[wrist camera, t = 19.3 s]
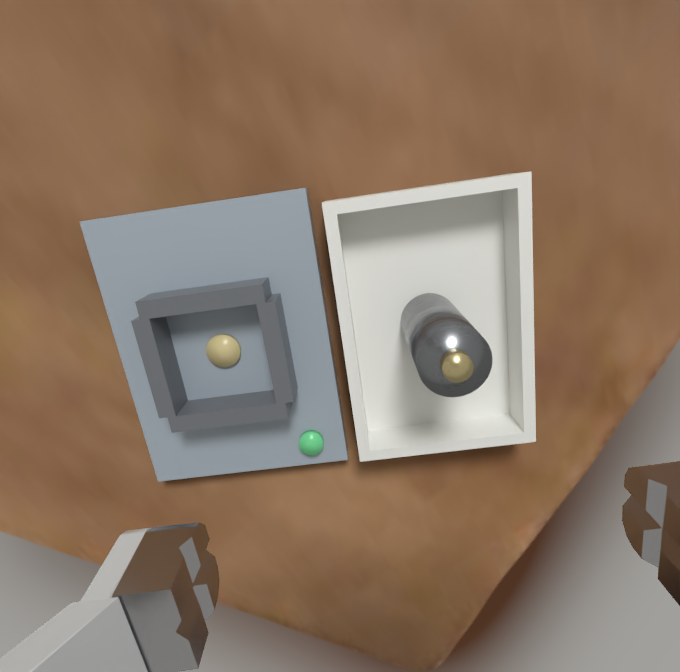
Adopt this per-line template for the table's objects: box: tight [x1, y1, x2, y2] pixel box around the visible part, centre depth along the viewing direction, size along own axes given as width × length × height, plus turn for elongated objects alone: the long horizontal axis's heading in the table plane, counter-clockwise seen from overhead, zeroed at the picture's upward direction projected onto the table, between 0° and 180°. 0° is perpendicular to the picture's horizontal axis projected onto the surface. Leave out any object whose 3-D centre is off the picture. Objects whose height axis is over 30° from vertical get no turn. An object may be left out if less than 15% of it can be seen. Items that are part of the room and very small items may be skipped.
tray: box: [322, 172, 536, 462], centre depth 32 cm, size 18×12×4 cm
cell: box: [401, 293, 493, 397], centre depth 28 cm, size 4×4×9 cm
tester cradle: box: [80, 188, 348, 482], centre depth 32 cm, size 20×15×4 cm
